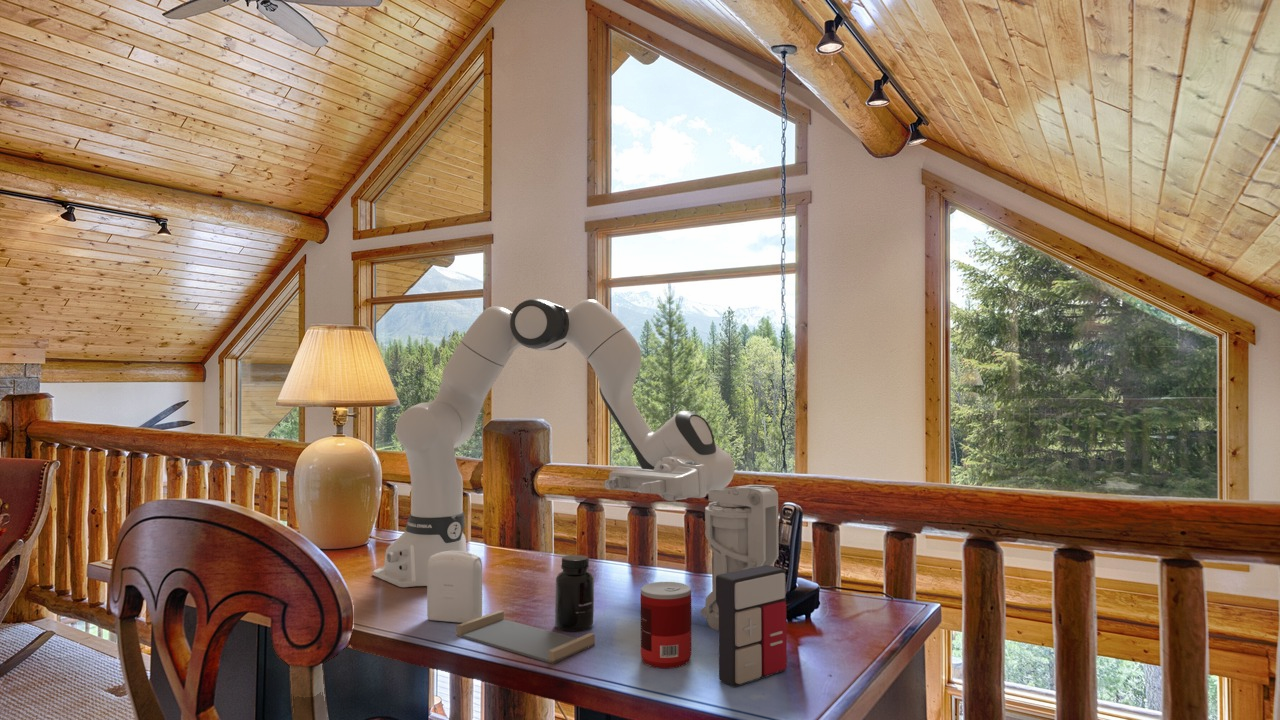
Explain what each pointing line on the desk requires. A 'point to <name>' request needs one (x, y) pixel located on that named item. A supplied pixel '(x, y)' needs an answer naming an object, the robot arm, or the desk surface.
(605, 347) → the robot arm
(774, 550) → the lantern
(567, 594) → the supplement bottle
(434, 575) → the photo printer
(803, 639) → the desk surface
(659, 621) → the canned food
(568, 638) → the felt tray
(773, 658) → the calculator
